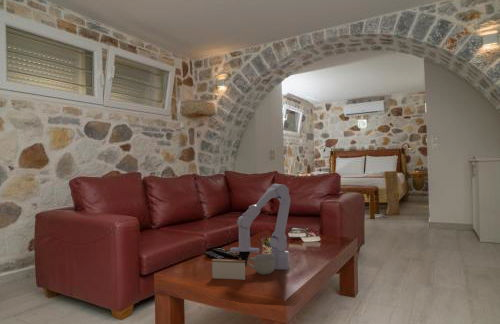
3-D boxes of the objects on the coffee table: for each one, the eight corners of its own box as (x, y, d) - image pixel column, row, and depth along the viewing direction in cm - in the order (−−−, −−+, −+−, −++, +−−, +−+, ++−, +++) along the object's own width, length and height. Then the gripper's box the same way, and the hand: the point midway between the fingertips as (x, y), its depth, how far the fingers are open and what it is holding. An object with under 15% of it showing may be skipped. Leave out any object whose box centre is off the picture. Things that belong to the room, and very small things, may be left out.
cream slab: (245, 278, 160) (245, 260, 160) (245, 279, 158) (244, 261, 158) (213, 277, 163) (212, 259, 163) (211, 278, 161) (211, 260, 161)
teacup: (277, 270, 171) (276, 254, 171) (273, 277, 161) (273, 260, 161) (250, 268, 175) (250, 253, 175) (245, 275, 164) (245, 259, 164)
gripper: (259, 238, 172) (260, 264, 172) (232, 237, 174) (232, 263, 174) (257, 241, 165) (258, 268, 165) (229, 240, 167) (229, 267, 167)
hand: (244, 266), depth 169 cm, fingers closed
